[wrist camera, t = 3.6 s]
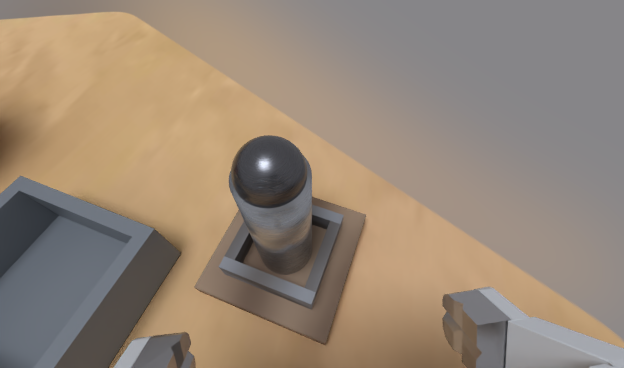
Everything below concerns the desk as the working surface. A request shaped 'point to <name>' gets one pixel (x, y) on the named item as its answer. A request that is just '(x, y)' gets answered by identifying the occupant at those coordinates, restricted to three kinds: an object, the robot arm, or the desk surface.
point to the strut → (275, 201)
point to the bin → (71, 278)
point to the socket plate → (293, 287)
